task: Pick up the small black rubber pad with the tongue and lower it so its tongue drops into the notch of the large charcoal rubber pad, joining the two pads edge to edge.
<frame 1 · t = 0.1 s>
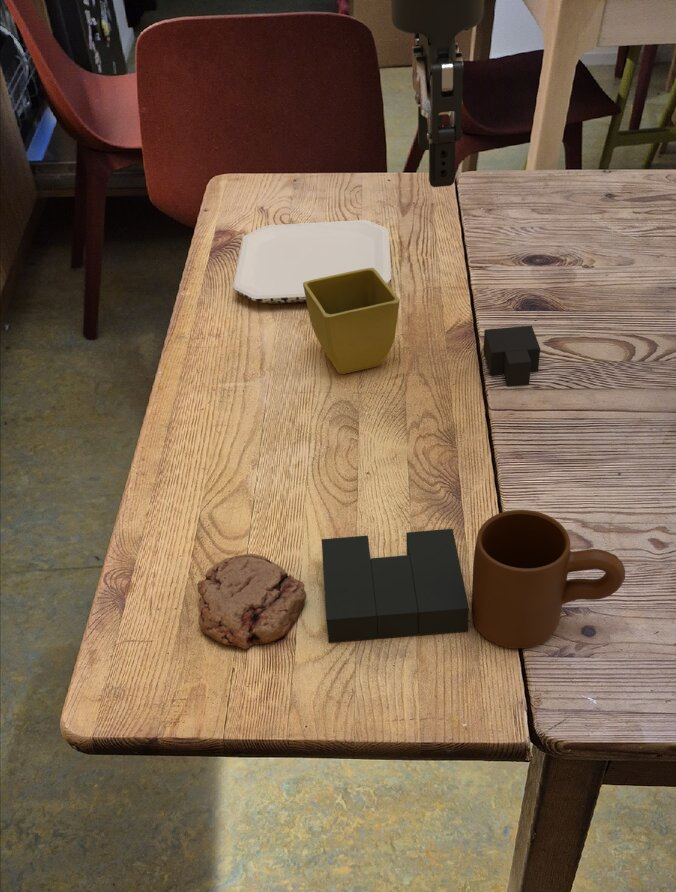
hand: (435, 166, 85), 25 cm above the table, tool pointing down, fingers open, 8 cm apart
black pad: (510, 361, 108), on the table
plate: (314, 272, 126), on the table
cookie: (249, 608, 83), on the table
flower pot: (354, 362, 110), on the table
mug: (540, 624, 80), on the table
base pad: (392, 595, 83), on the table
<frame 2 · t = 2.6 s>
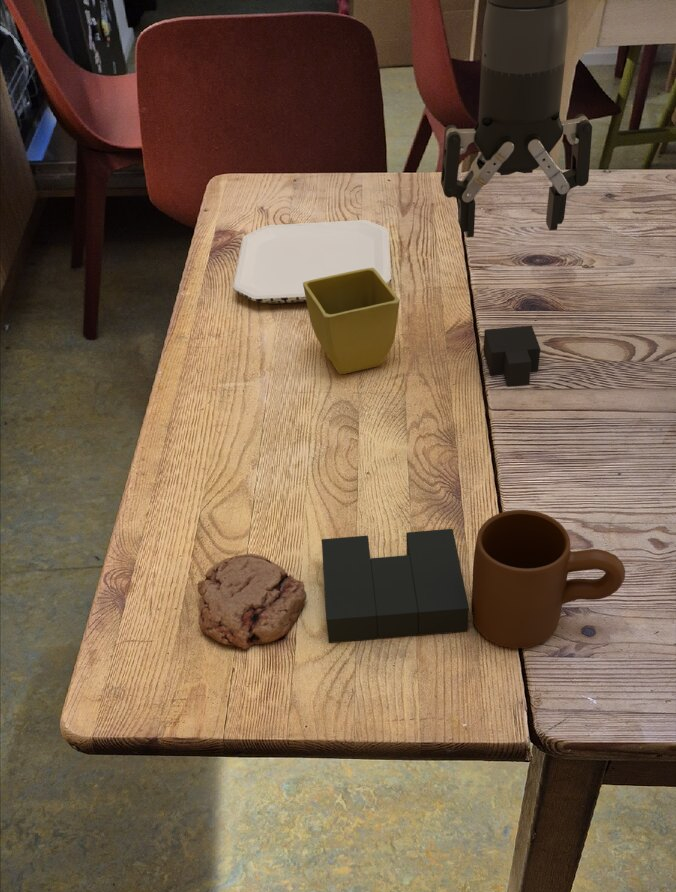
hand: (510, 230, 95), 16 cm above the table, tool pointing down, fingers open, 8 cm apart
nothing on the table moved.
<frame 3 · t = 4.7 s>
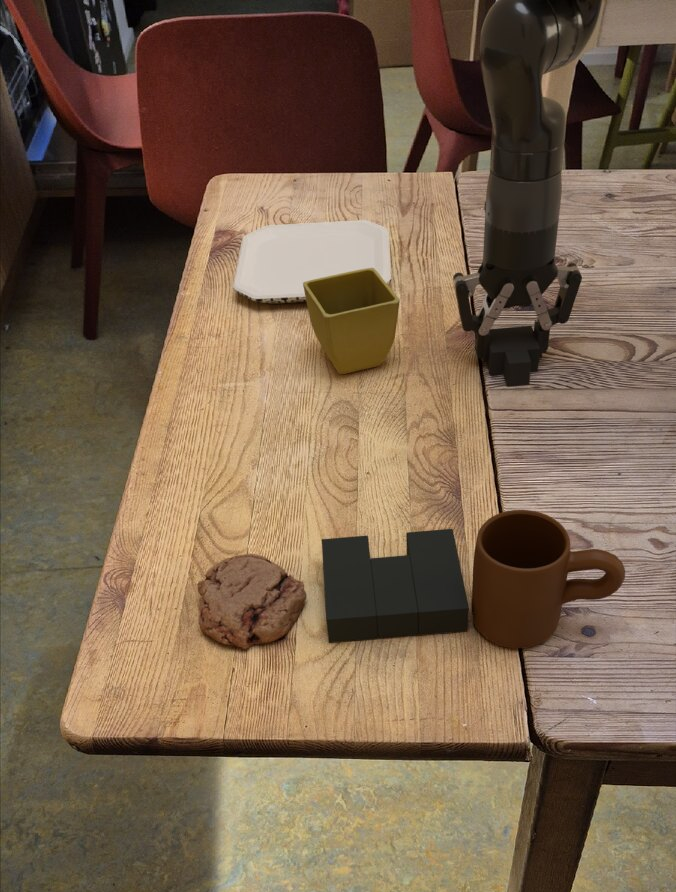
hand: (510, 356, 107), 1 cm above the table, tool pointing down, fingers closed on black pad, 5 cm apart
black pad: (510, 361, 108), on the table, touching gripper
everything else where it was.
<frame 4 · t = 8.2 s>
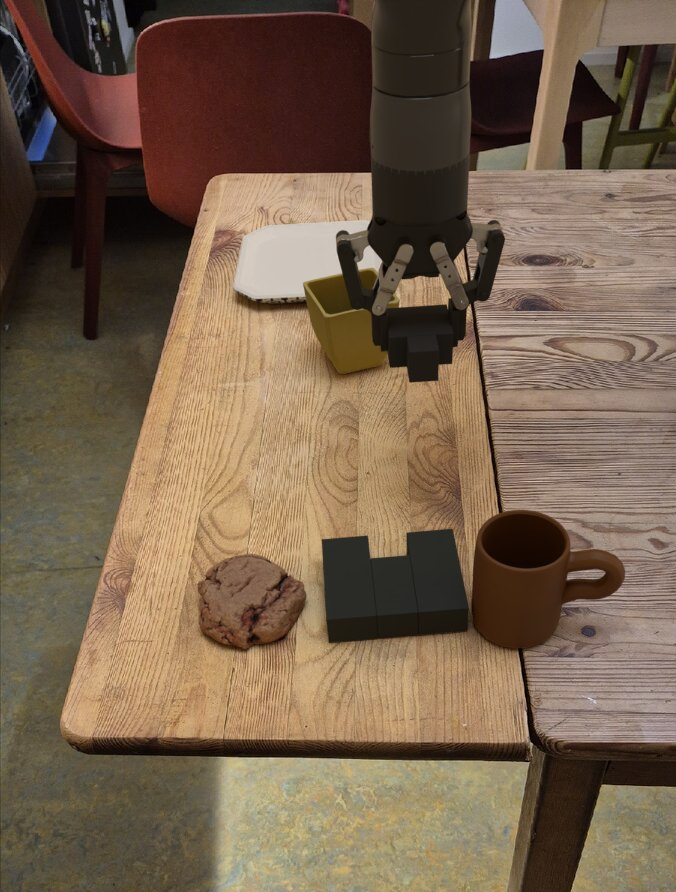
hand: (418, 344, 82), 16 cm above the table, tool pointing down, fingers closed on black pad, 5 cm apart
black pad: (418, 350, 83), point 15 cm above the table, touching gripper
everything else where it was.
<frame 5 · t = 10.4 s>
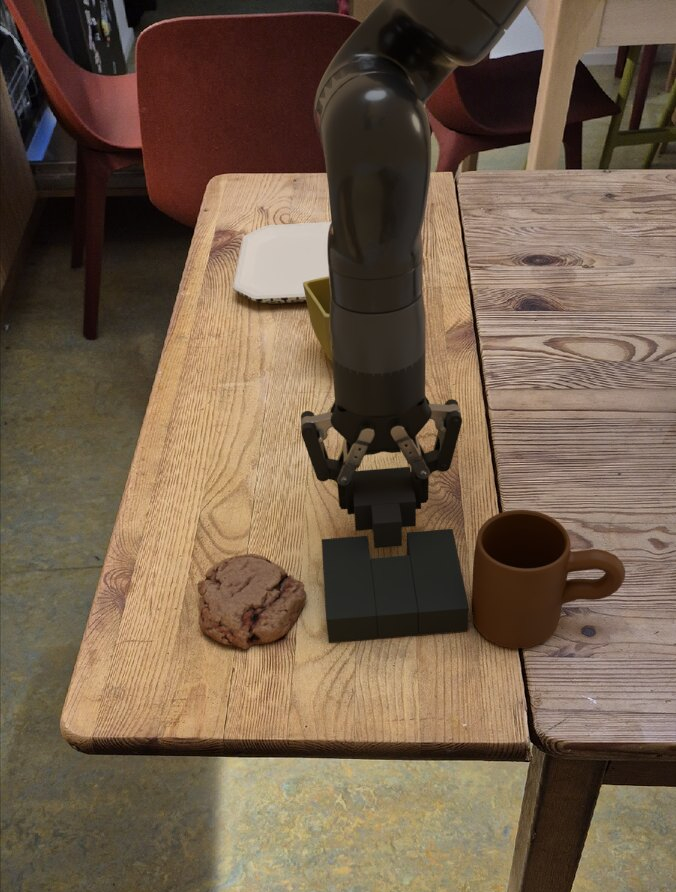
hand: (383, 505, 86), 4 cm above the table, tool pointing down, fingers closed on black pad, 5 cm apart
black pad: (383, 511, 86), point 3 cm above the table, touching gripper
everything else where it was.
when the fingers open (1 cm above the table, at t = 11.9 s): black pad stays where it is, on the table.
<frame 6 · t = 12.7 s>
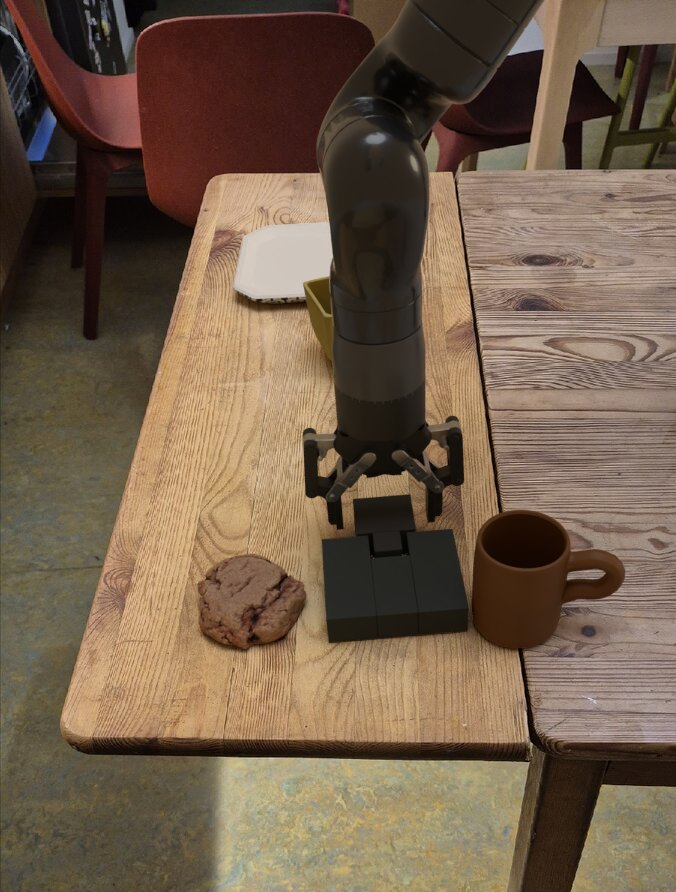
hand: (385, 520, 87), 2 cm above the table, tool pointing down, fingers open, 8 cm apart
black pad: (384, 537, 88), on the table
everything else where it was.
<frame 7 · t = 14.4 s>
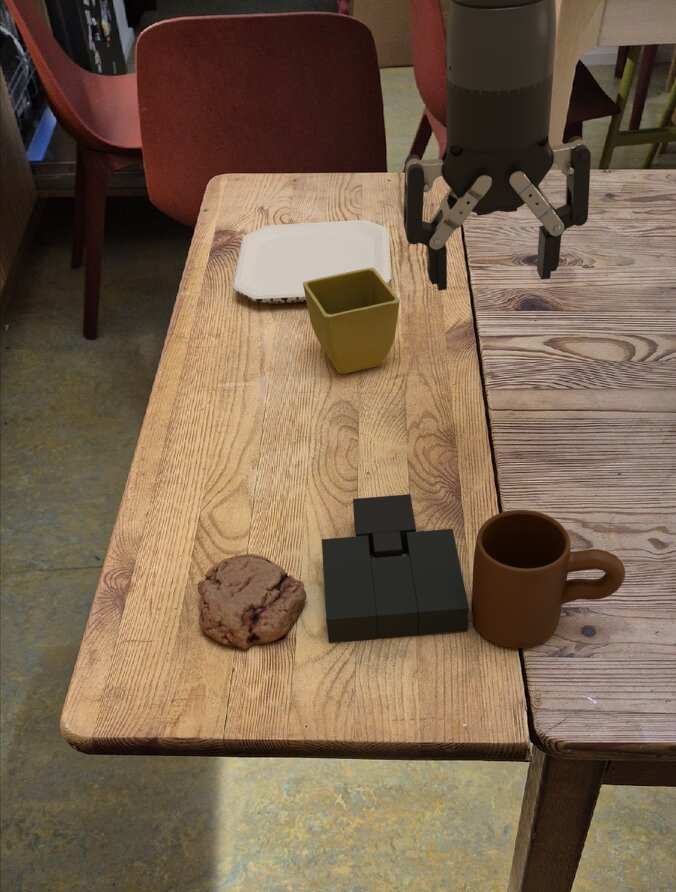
hand: (492, 280, 77), 22 cm above the table, tool pointing down, fingers open, 8 cm apart
nothing on the table moved.
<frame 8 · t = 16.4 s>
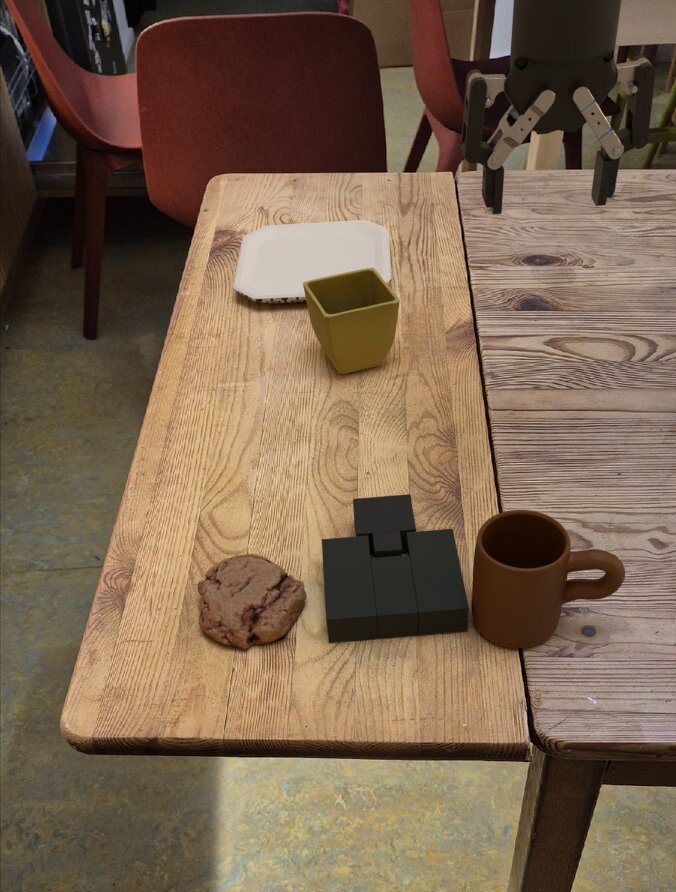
hand: (546, 206, 76), 26 cm above the table, tool pointing down, fingers open, 8 cm apart
nothing on the table moved.
at the end: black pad 0.1 cm from the target spot on the table beside the base pad, on the table; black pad tilted 0°; the gripper is holding nothing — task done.
